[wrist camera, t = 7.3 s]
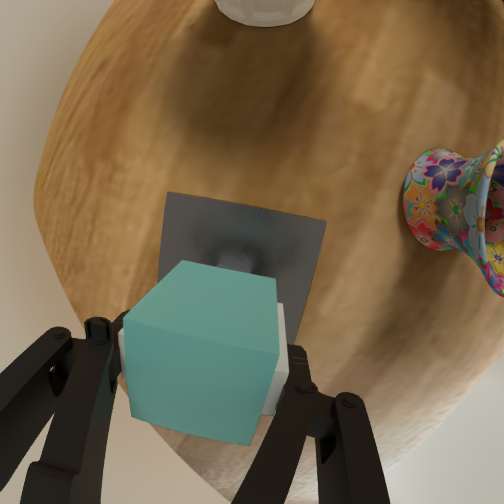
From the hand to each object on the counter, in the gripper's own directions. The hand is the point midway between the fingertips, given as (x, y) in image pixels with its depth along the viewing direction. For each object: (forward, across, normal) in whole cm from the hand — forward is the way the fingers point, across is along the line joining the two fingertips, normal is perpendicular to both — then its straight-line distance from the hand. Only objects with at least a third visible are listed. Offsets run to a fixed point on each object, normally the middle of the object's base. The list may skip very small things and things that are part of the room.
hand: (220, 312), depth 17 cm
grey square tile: (+6, 0, 0) cm, 6 cm away
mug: (+6, +17, +10) cm, 21 cm away
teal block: (0, 0, 0) cm, 0 cm away
